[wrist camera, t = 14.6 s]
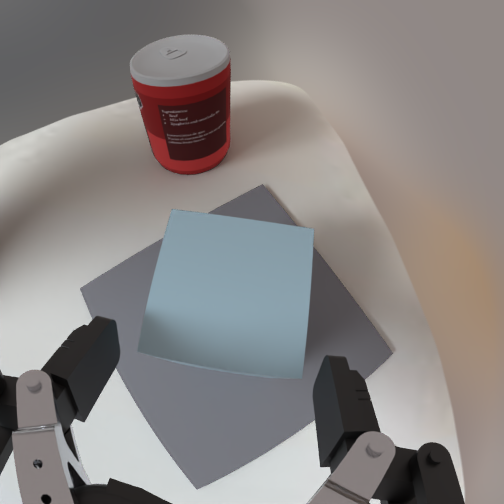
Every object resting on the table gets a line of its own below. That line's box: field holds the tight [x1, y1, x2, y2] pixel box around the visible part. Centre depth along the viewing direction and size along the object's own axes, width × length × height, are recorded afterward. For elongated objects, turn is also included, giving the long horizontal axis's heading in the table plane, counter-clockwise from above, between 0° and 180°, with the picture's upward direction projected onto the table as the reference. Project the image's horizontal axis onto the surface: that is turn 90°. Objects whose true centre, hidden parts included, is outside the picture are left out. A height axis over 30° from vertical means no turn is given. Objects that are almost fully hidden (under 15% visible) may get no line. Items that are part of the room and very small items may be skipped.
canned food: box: [130, 35, 231, 175], centre depth 23 cm, size 8×8×11 cm
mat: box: [80, 184, 393, 489], centre depth 21 cm, size 18×18×1 cm
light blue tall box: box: [137, 209, 314, 379], centre depth 16 cm, size 6×6×10 cm
